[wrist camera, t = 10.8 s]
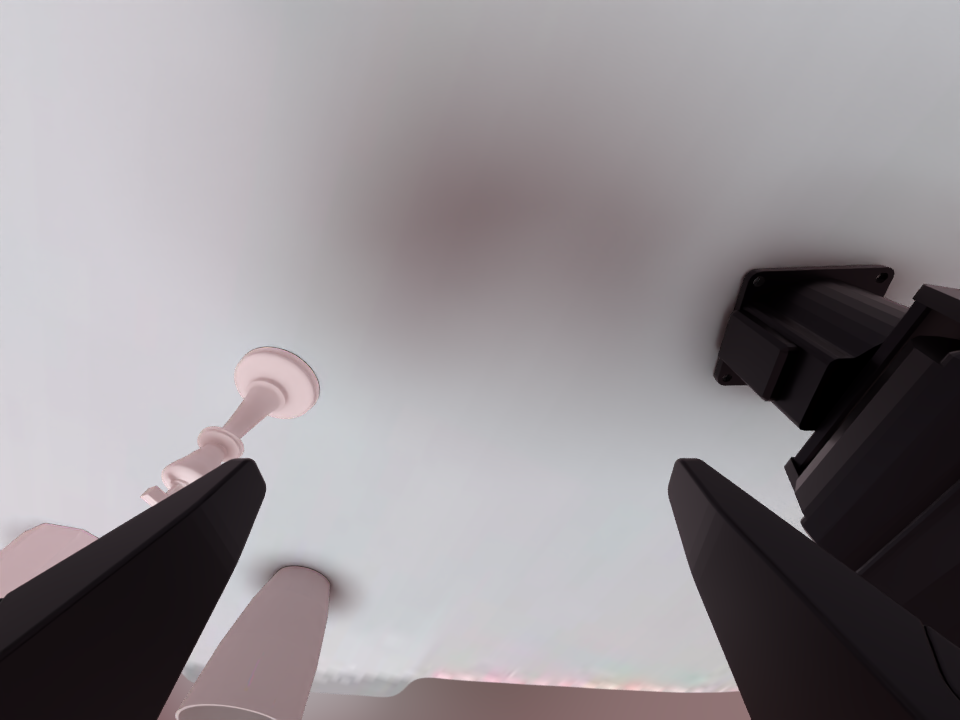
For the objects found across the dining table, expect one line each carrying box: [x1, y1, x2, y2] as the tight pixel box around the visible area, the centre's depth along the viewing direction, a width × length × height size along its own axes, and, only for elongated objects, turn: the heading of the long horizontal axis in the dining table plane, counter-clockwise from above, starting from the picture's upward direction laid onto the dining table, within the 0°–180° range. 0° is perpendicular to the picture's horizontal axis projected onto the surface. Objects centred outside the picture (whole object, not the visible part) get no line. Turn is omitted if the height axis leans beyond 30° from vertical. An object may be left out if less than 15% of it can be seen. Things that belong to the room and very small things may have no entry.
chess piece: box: [140, 347, 319, 506], centre depth 19 cm, size 5×5×10 cm
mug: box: [0, 523, 99, 598], centre depth 31 cm, size 12×9×10 cm
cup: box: [175, 566, 330, 720], centre depth 30 cm, size 8×8×10 cm
